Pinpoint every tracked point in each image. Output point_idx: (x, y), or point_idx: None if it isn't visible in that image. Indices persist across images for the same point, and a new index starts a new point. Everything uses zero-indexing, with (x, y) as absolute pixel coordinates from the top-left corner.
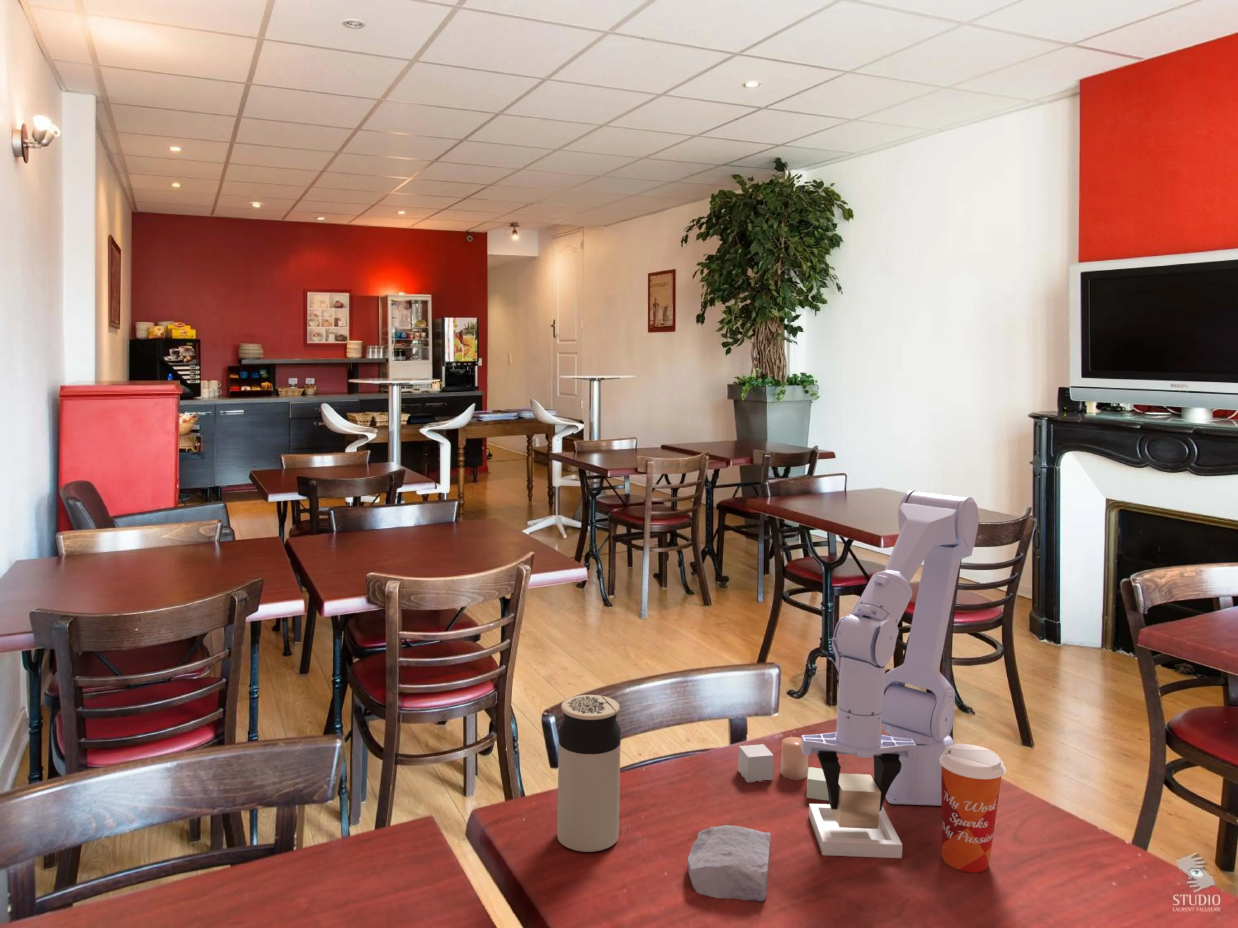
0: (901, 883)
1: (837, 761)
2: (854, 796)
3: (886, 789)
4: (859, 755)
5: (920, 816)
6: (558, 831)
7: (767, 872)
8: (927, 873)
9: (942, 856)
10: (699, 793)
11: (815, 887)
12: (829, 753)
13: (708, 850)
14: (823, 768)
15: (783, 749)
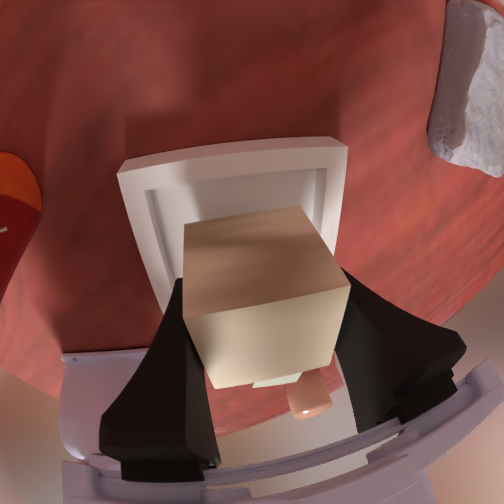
0: (142, 35)
1: (403, 388)
2: (292, 278)
3: (160, 337)
4: (406, 467)
5: (101, 325)
6: None
7: (481, 9)
8: (69, 107)
9: (37, 189)
10: (434, 290)
11: (368, 10)
12: (429, 404)
13: None
14: (455, 332)
15: (329, 395)
